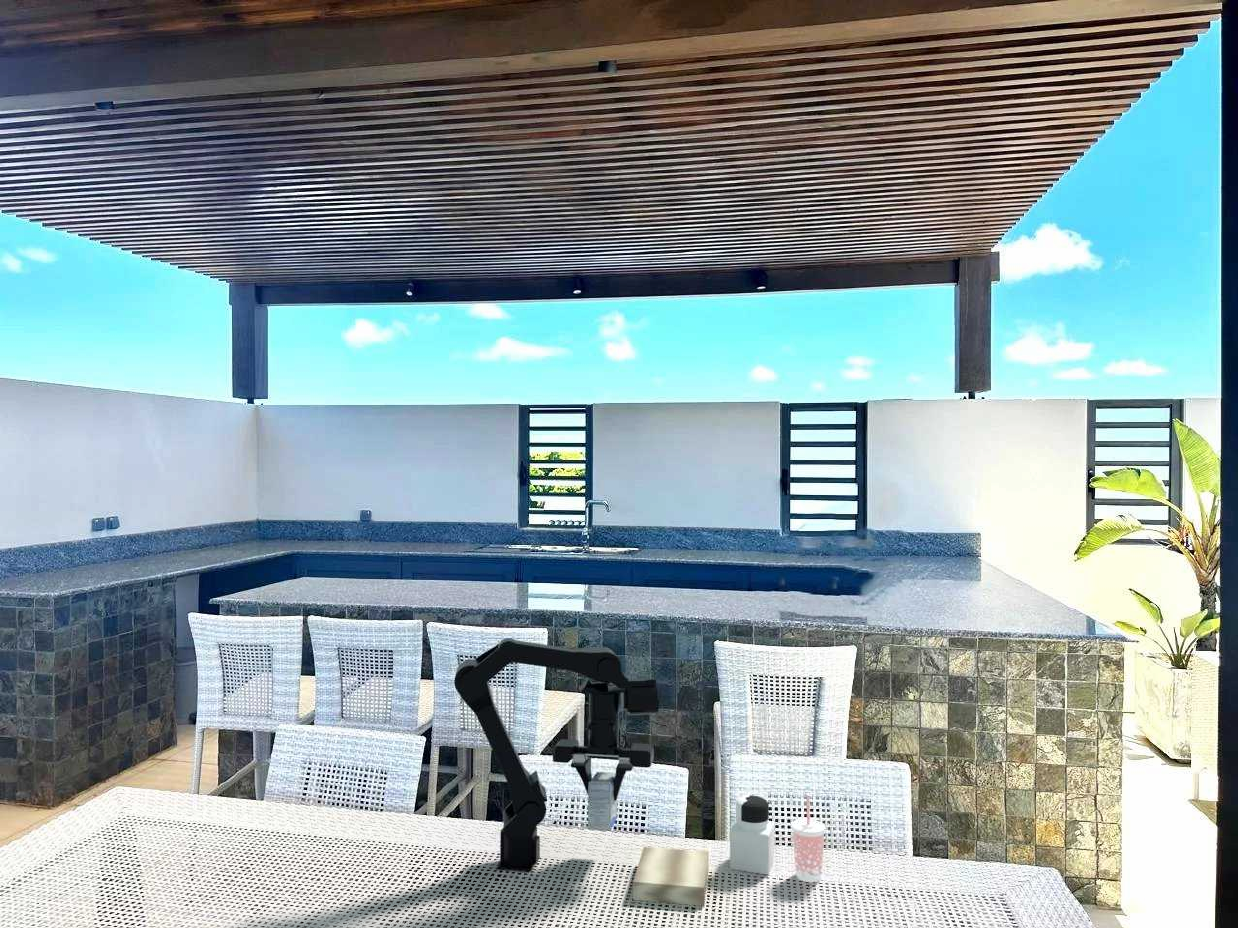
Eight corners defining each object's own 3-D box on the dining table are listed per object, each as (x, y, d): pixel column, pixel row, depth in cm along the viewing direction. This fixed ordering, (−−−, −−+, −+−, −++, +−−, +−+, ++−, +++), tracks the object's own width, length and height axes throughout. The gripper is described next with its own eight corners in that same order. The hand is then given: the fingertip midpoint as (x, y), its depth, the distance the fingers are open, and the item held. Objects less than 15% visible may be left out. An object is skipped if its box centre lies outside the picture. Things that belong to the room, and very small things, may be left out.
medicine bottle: (774, 859, 151) (774, 794, 151) (768, 875, 144) (768, 808, 145) (737, 853, 153) (736, 790, 154) (729, 869, 146) (729, 803, 147)
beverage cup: (827, 885, 140) (826, 804, 141) (791, 882, 142) (791, 801, 142) (825, 870, 146) (824, 792, 147) (791, 866, 148) (790, 789, 148)
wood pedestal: (633, 899, 135) (633, 881, 135) (643, 863, 149) (643, 846, 149) (704, 905, 133) (704, 887, 133) (708, 868, 147) (708, 851, 147)
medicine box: (610, 831, 147) (611, 782, 148) (586, 829, 147) (588, 780, 149) (617, 818, 154) (618, 772, 156) (594, 817, 155) (596, 770, 156)
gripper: (657, 707, 159) (656, 787, 158) (565, 702, 162) (564, 781, 161) (650, 722, 148) (650, 808, 147) (552, 717, 151) (551, 801, 150)
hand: (603, 798), depth 151 cm, fingers closed on medicine box, 4 cm apart
